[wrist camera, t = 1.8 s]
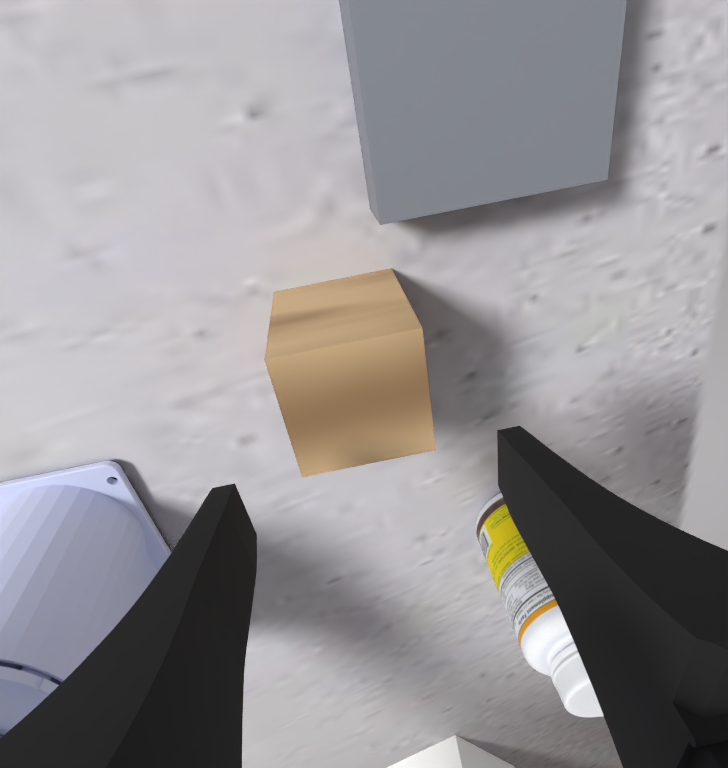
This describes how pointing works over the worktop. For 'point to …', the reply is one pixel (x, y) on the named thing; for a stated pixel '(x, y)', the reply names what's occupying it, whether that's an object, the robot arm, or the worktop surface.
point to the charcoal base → (481, 98)
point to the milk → (452, 757)
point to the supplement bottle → (533, 609)
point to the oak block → (350, 372)
